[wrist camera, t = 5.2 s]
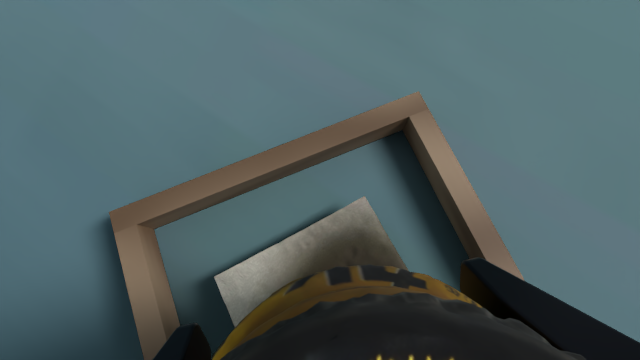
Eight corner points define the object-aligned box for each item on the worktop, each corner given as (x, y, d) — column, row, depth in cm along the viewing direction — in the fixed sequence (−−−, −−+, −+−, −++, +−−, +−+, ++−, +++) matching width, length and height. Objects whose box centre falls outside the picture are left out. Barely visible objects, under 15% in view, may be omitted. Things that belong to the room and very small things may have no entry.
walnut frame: (596, 446, 13) (628, 466, 12) (233, 631, 12) (220, 679, 11) (411, 106, 18) (418, 91, 16) (128, 217, 16) (109, 212, 15)
